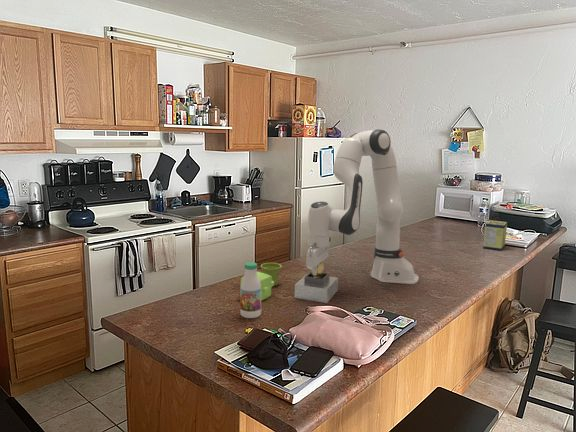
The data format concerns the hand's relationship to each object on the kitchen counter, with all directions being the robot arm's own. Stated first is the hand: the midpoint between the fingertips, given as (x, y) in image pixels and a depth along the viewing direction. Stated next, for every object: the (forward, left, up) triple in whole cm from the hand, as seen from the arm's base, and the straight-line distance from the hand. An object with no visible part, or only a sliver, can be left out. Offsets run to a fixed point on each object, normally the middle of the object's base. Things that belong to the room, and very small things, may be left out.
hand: (317, 272), depth 192 cm
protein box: (-75, -124, -10) cm, 145 cm away
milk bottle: (+16, +31, -10) cm, 36 cm away
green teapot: (+21, +15, -10) cm, 28 cm away
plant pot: (+23, -4, -10) cm, 25 cm away
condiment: (+13, -37, -10) cm, 40 cm away
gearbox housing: (0, 0, -10) cm, 10 cm away
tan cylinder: (0, 0, -3) cm, 3 cm away
